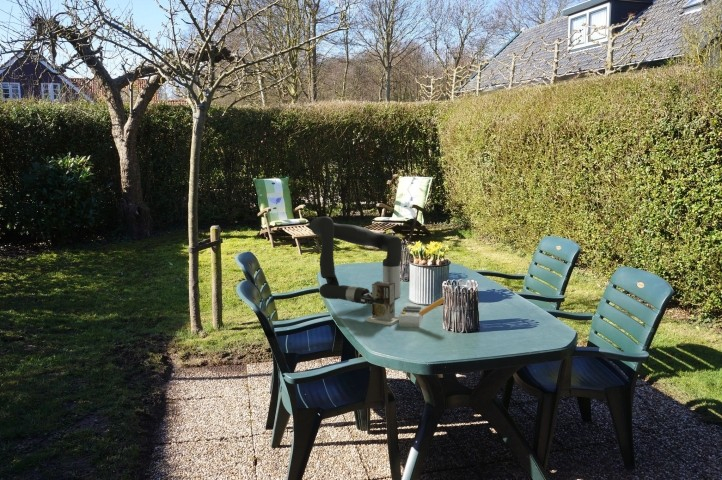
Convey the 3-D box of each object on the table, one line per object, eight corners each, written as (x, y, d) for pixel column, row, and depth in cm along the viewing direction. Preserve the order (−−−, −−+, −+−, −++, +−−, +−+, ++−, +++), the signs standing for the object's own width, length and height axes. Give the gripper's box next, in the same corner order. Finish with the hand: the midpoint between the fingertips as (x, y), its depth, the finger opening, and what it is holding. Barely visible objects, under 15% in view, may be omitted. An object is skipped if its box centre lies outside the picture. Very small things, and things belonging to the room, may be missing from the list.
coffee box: (395, 316, 262) (395, 282, 259) (389, 320, 256) (390, 285, 253) (377, 314, 265) (377, 280, 263) (371, 317, 260) (371, 283, 257)
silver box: (403, 317, 265) (403, 305, 264) (422, 318, 263) (422, 306, 262) (398, 326, 252) (398, 313, 251) (419, 327, 250) (419, 314, 249)
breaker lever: (420, 310, 254) (449, 292, 250) (422, 314, 254) (452, 296, 250) (419, 312, 251) (449, 294, 247) (421, 316, 251) (451, 297, 247)
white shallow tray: (377, 315, 269) (377, 312, 269) (402, 319, 262) (402, 317, 261) (365, 321, 260) (365, 318, 260) (391, 325, 253) (391, 323, 253)
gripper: (349, 290, 260) (379, 295, 251) (365, 284, 272) (395, 288, 263) (349, 306, 262) (379, 311, 253) (365, 299, 273) (395, 304, 265)
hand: (387, 299), depth 258 cm, fingers closed on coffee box, 7 cm apart
